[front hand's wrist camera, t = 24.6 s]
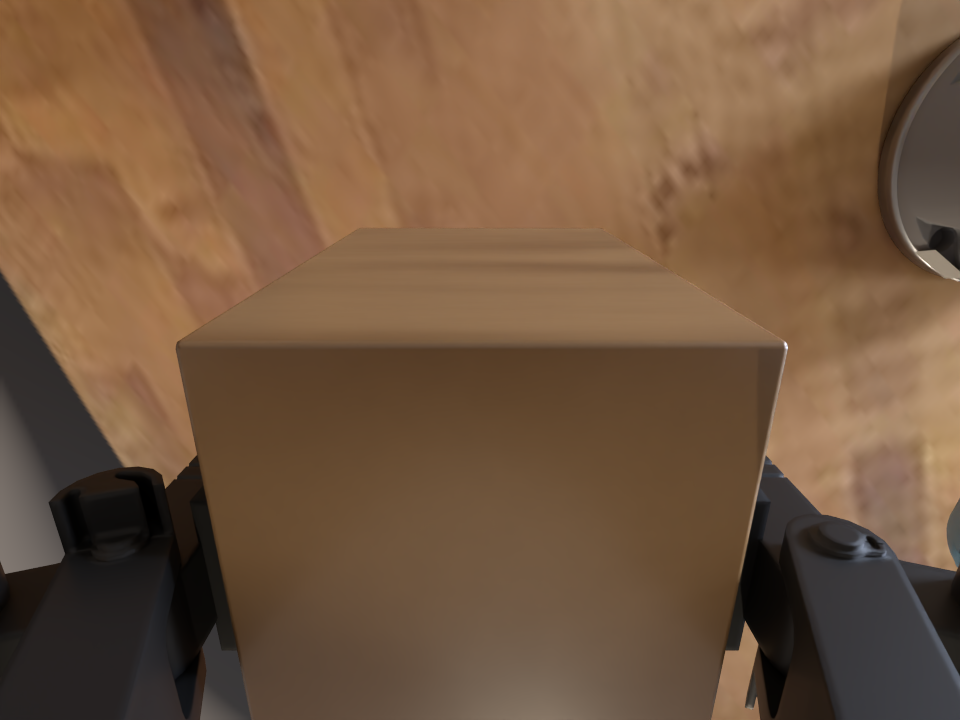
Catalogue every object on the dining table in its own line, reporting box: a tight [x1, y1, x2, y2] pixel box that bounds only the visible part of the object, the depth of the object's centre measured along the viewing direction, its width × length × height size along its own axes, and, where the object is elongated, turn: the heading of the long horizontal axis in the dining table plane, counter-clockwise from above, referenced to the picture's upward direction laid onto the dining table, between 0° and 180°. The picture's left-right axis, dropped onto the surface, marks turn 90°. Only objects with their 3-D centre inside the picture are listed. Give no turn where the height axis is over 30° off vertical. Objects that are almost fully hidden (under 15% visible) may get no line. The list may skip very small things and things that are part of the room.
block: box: [176, 228, 788, 720], centre depth 12 cm, size 8×6×9 cm
